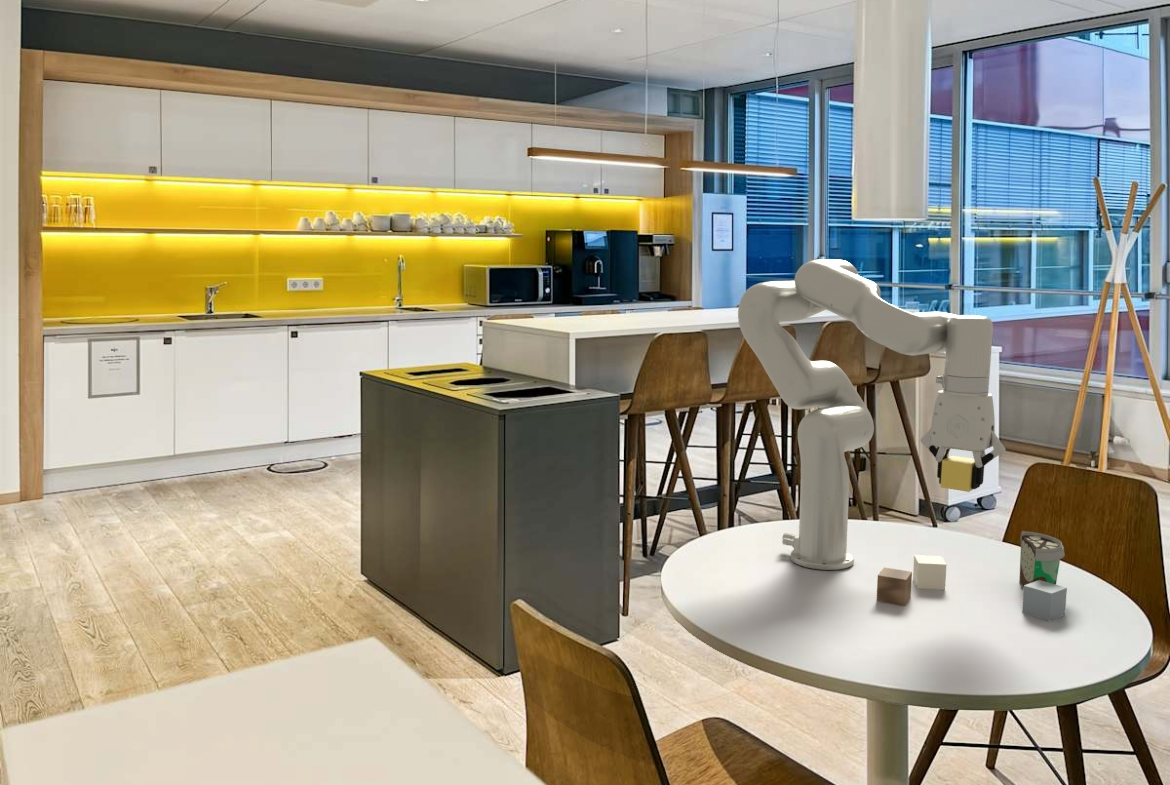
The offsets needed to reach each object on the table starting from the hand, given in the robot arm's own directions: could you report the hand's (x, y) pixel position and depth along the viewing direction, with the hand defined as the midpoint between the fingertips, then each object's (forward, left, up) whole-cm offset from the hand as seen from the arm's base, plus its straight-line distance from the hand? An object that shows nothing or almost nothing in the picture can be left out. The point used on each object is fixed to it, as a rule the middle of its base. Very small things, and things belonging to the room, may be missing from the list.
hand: (959, 484), depth 177 cm
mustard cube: (0, 0, -1) cm, 1 cm away
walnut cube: (-8, -8, -21) cm, 24 cm away
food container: (+12, +13, -22) cm, 28 cm away
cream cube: (-6, +4, -21) cm, 23 cm away
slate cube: (+15, +2, -21) cm, 26 cm away
